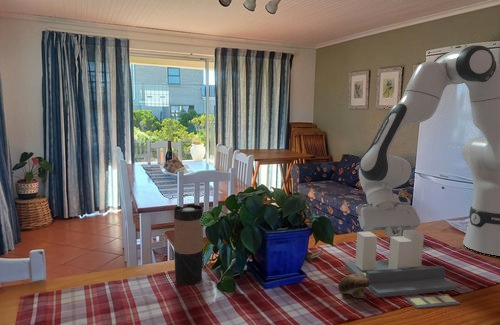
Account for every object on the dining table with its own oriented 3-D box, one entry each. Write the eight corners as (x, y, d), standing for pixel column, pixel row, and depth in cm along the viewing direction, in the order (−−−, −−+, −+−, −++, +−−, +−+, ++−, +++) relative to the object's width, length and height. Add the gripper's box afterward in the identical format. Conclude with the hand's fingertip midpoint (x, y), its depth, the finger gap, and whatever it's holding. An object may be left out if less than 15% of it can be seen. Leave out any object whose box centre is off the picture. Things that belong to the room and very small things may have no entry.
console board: (412, 261, 108) (413, 249, 108) (456, 290, 91) (458, 275, 90) (344, 266, 104) (345, 253, 103) (377, 297, 86) (378, 281, 86)
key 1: (367, 263, 102) (369, 231, 101) (374, 269, 99) (377, 236, 97) (355, 264, 102) (357, 232, 100) (362, 270, 98) (364, 236, 96)
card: (446, 295, 88) (447, 293, 88) (460, 304, 84) (460, 302, 84) (405, 298, 86) (405, 297, 86) (416, 308, 82) (417, 307, 82)
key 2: (412, 260, 105) (415, 229, 104) (421, 266, 101) (424, 233, 100) (400, 261, 105) (403, 229, 103) (409, 267, 101) (411, 234, 99)
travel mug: (197, 287, 90) (197, 212, 87) (169, 283, 91) (168, 210, 88) (206, 274, 97) (206, 205, 94) (181, 271, 98) (180, 203, 96)
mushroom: (378, 294, 82) (366, 268, 84) (346, 305, 82) (335, 279, 85) (373, 294, 89) (363, 270, 91) (344, 304, 89) (334, 280, 92)
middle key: (400, 269, 99) (403, 236, 98) (409, 275, 95) (412, 241, 94) (387, 270, 98) (390, 236, 97) (396, 276, 94) (399, 241, 93)
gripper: (358, 199, 113) (372, 238, 105) (413, 198, 117) (431, 235, 109) (350, 209, 118) (363, 247, 110) (404, 207, 122) (420, 244, 114)
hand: (397, 241), depth 109 cm, fingers closed
